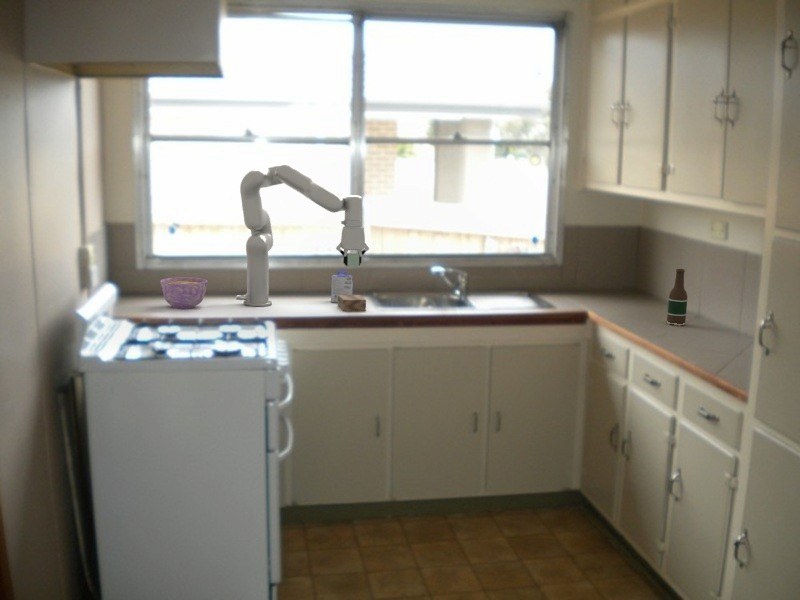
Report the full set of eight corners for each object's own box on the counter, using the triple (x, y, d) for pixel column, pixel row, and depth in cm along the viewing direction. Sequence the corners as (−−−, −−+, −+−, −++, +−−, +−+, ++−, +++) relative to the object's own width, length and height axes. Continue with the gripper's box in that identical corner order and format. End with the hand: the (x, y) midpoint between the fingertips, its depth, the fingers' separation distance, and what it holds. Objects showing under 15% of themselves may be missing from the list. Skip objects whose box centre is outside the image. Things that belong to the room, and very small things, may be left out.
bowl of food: (217, 307, 391) (217, 281, 389) (177, 313, 376) (177, 285, 374) (190, 301, 404) (190, 276, 402) (151, 306, 389) (150, 279, 388)
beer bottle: (688, 326, 386) (693, 270, 382) (673, 326, 384) (677, 270, 380) (678, 322, 394) (683, 267, 390) (662, 322, 391) (667, 268, 387)
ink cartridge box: (352, 300, 421) (352, 270, 418) (352, 303, 415) (353, 271, 413) (330, 300, 420) (331, 269, 417) (330, 302, 414) (331, 271, 412)
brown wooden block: (343, 311, 393) (343, 300, 392) (337, 306, 405) (338, 295, 404) (365, 311, 395) (366, 299, 394) (359, 306, 407) (359, 295, 407)
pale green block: (347, 267, 394) (348, 254, 393) (345, 266, 399) (345, 252, 398) (358, 267, 395) (359, 254, 394) (356, 266, 400) (356, 252, 399)
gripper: (335, 224, 388) (334, 266, 391) (374, 224, 392) (373, 266, 395) (332, 223, 395) (331, 264, 398) (370, 223, 399) (369, 264, 402)
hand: (352, 264), depth 397 cm, fingers closed on pale green block, 5 cm apart
